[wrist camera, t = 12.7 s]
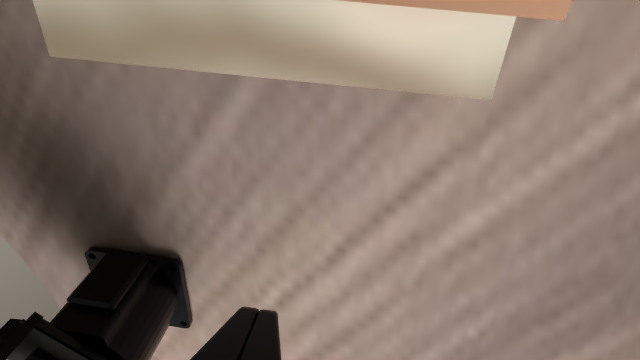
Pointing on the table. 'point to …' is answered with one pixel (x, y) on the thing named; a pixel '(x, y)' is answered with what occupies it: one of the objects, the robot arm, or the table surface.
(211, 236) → the table surface
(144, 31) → the post board
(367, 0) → the peach rectangular block
